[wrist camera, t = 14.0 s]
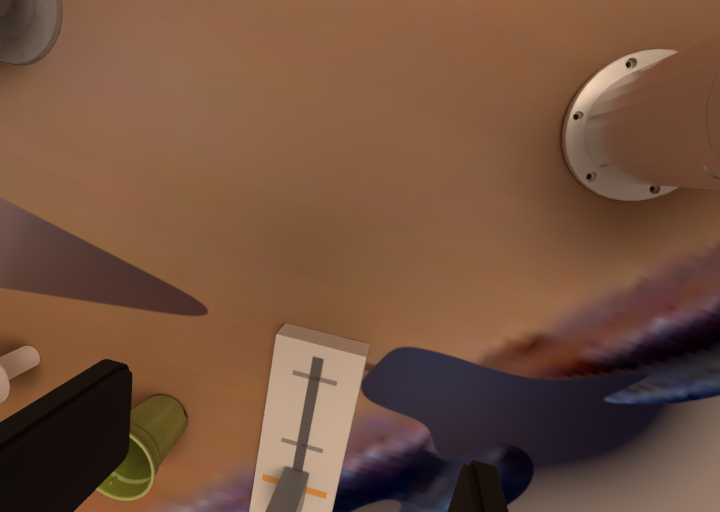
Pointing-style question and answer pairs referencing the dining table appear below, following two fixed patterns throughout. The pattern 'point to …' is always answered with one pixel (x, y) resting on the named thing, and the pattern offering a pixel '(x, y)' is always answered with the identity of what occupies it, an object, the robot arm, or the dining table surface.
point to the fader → (289, 492)
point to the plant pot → (146, 447)
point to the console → (308, 413)
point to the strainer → (16, 366)
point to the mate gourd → (28, 29)
